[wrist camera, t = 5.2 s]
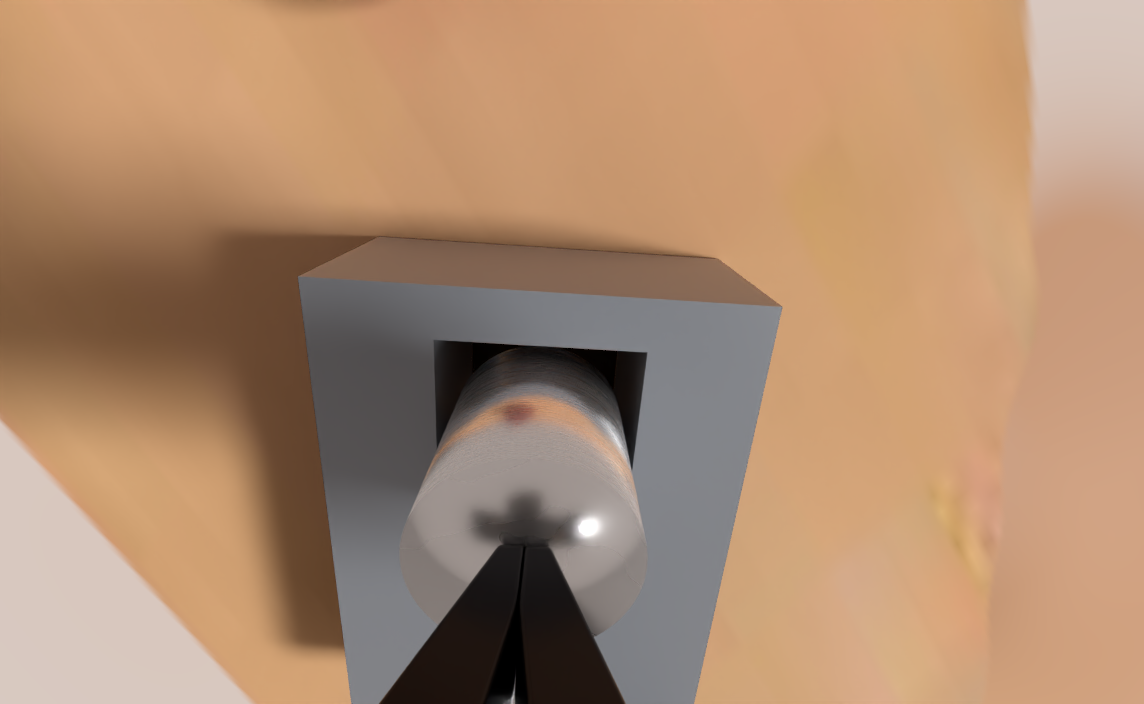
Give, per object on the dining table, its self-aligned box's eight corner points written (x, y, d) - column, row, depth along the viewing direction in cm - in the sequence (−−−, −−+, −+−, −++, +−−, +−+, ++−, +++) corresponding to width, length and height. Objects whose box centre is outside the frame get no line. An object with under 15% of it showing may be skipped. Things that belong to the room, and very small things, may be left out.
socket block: (648, 663, 22) (671, 804, 17) (406, 654, 22) (362, 795, 17) (718, 258, 16) (782, 306, 11) (379, 236, 15) (297, 276, 11)
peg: (611, 493, 14) (633, 657, 9) (457, 485, 14) (404, 648, 9) (628, 350, 12) (662, 465, 8) (455, 340, 12) (392, 451, 8)
